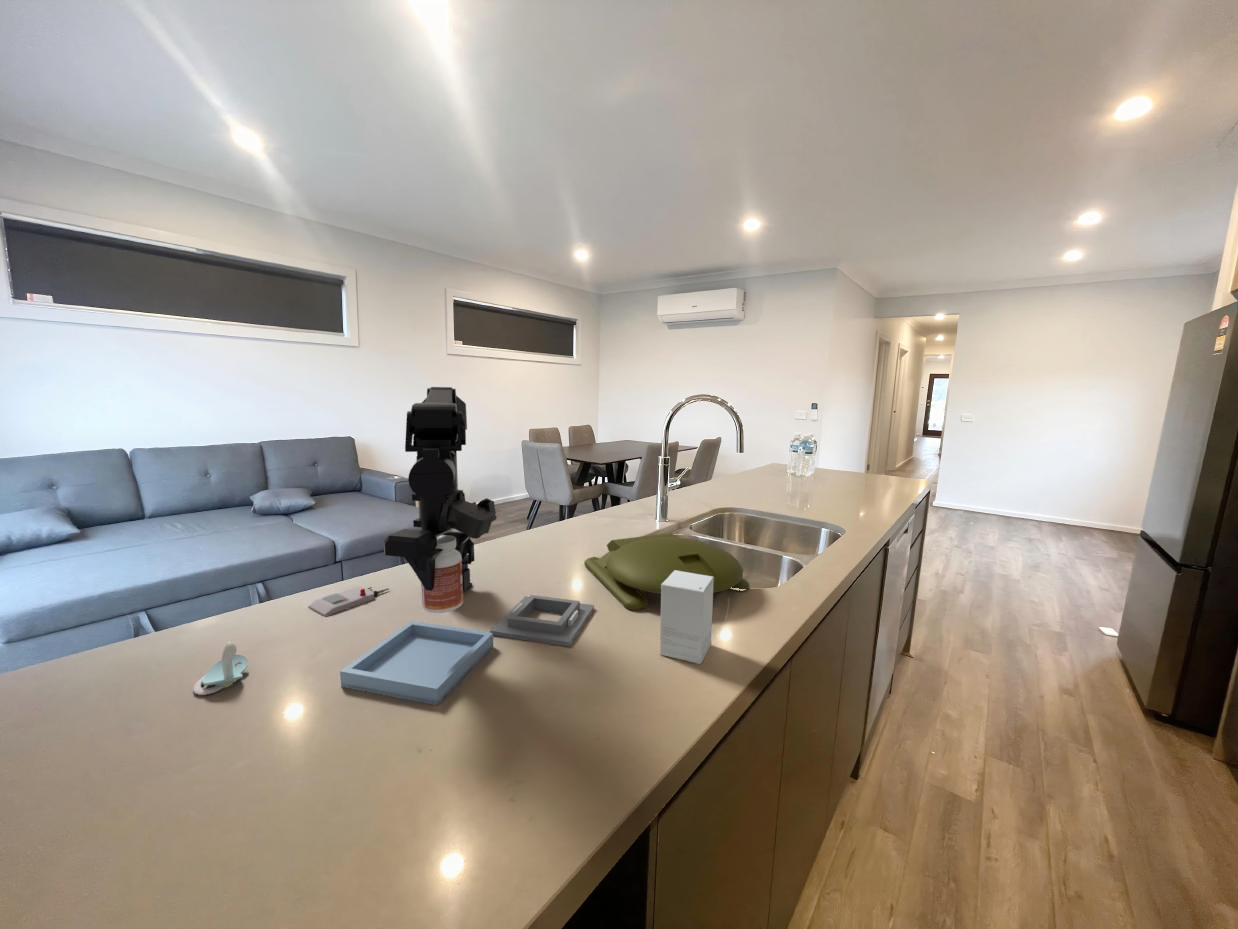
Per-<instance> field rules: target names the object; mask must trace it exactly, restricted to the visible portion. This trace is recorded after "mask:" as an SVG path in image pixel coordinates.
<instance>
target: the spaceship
mask: <svg viewBox="0 0 1238 929" xmlns="http://www.w3.org/2000/svg"><path fill="white" fill-rule="evenodd" d="M606 547H607V550H608V552H607V553H605V554H603V555H602V556H601V557H597V556H595V557H594V556H592V557H588V558H587V559H586V560H584V562H583V564H584V566H585V568H586V569H588V571H590V573H592V575H594V577H595V578H596V579H597V580H598V581H599V582H600V583H602V585H603V586H604V587H605V588H606V589H607V590H608V591H609V592H610V593H611V595H613V596H614V597H615V598H616V600H618V601H619V602H620V604H621V605H623V606H624V607H625V608H626V609H627V610H631V611H640V610H644V608H646V607H647V605H648V600H647V598H646V597H645V596H644V595H642V594H641V592H640V591H643V592H644V591H645V592H649V593H654V594H660V595H661V584H662V583H663V582H664V581H665V580H666V579H667V578H668V577H669V576H670V575H671V574H672V572H673V571H674V570H677V571H683V572H688V573H694V574H700V575H706V576H713V577H714V581H713V594H715V593H719V592H724V591H726V590H730V589H729V588H731V587H732V588H739V589H747V590H749V588H750V583H749V582H748V581H747V580H746V579H744V578H743V575H744V570H743V569H744V568H742V565H741V563H740V561H739V560H738V559H737V558H736V557H735V556H734V555H732V554H731V553H730V552H729V551H727V550H725V549H723V548H721V547H718V546H716V545H714V544H712V543H708V542H705V541H702V540H697V539H694V538H693V539H692V538H687V537H686V538H685V537H680V536H677V535H676V534H675V533H662V534H654V535H644V536H637V537H625V538H618V539H612V540H610V541H609V542H608V543H607V544H606ZM638 590H640V591H638ZM738 592H741V591H740V590H739V591H738Z"/></svg>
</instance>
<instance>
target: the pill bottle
mask: <svg viewBox="0 0 1238 929" xmlns="http://www.w3.org/2000/svg"><path fill="white" fill-rule="evenodd" d="M436 548H437V549H443V551H442V552H441V553H440V554H439V555H438V556H437V557H436V559H435V578H434V587H433V590H431V591H430V590H426V589H425V588H424V586H423V585H422V583H421V582H420V585H421V586H420V587H421V602H422V608H423V609H424V610H425V611H426V612H428V613H433V614H442V613H444V614H445V613H449V612H452V611H454V610H457V609H459V607H461V606H462V605H463V602H464V592H463V581H462V557H461V554H460V552H459V551H457V550H455V548H456V538H455V537H454V536H450V535H441V536H439V537H437V546H436Z"/></svg>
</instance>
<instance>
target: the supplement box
mask: <svg viewBox="0 0 1238 929" xmlns="http://www.w3.org/2000/svg"><path fill="white" fill-rule="evenodd" d="M713 581H714V577H713V576H706V575H700V574H694V573H688V572H683V571H677V570H674V571H673V572H672V574H671V575H670V576H669V577H668V578H667V579H666V580H665V581H664V582H663V583H662V584H661V594H660V626H659V627H660V628H659V629H660V630H659V631H660V633H659V635H660V636H659V637H660V638H659V641H660V642H659V651H660V652H659V655H661V656H666V657H670V658H673V659H678V660H682V661H686V662H689V663H693V664H697V665H701V664H702V663H703V661H704V659H705V657H706V656H707V653H708V651H709V649H710V647H711V645H712V630H713V629H712V628H713V606H714V605H713V604H714V602H713V601H714V593H713Z"/></svg>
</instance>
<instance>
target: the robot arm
mask: <svg viewBox="0 0 1238 929" xmlns="http://www.w3.org/2000/svg"><path fill="white" fill-rule="evenodd" d="M426 389H427V390H426V397H425V398H424V400H423V401H422V402H416V403H413V404H412V405H411V410H408V411H407V412H406V421H405V422H406V423H405V425H406V426H405V444H404V451H405V452H406V453H413V452H415V453H416V461H415V463H414V464H413V465H412V467H411V469H410V470H409V474H408V476H407V477H408V480H407V481H408V484H409V488H410V490H411V491H412V492H413V493H412V494H411V500H412V501H415V502H418V518H416V519H413V520H412V523H413V524H412V525H413V527H414V528H420V529H421V530H419V529H408V528H403V529H400V530H399V531H396V532H394V533H392V534H389V535H388V536H387V537H386V538H385V539H384V540H383V551H384V552H383V553H384V555H385V556H387V557H388V556H389V557H396V558H397V557H398V558H404V559H405V561H406V562H407V563H408V565H409V566H410V568H411V569H412V570H413V572H414V574H415V576H417V578H418V580H419V582H420V584H421V583H422V585H423V586H424V588H425V589H426V590H430V591H431V590H433V587H434V578H435V559H436V557H437V556H438V555H439V554H440V553H441V552H442V551H443V549H437V548H436V546H437V537H439V536H441V535H450V536H454V537H455V538H456V548H455V550H457V551H459V552H460V554H461V557H462V581H463V593H465V591H466V590H468V589H469V588H471V587H472V586H473V582H471V569H470V568H469V565H472V563H473V562H475V543H474V542H473V540H472V539H474V540H476V539H479V538H481V537H482V536H483V535H485V534H488V533H489V531H490V529H491V526H492V523H493V522H495V521H496V520H497V518H498V517H497V515H496V514H497V511H496V508H495V507H496V506H495V501H494V500H491V498H486V497H485V498H483V499H482V500H480V501H479V502H478V503H477V502H476V501H472V502H470V501H468V500H466V496H465V495H466V493H465V492H464V489H459V482H458V480H459V478H458V456H457V452H462V449H463V447H462V446H467V437H466V436H467V432H466V431H467V430H468V420H467V419H468V418H467V414H468V413H467V403H466V402H465V401H463V400H462V399H461V398H460V397H459V396H458V395H457V389H456V388H453V387H450V386H449V387H448V386H431V387H429V388H426Z"/></svg>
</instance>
